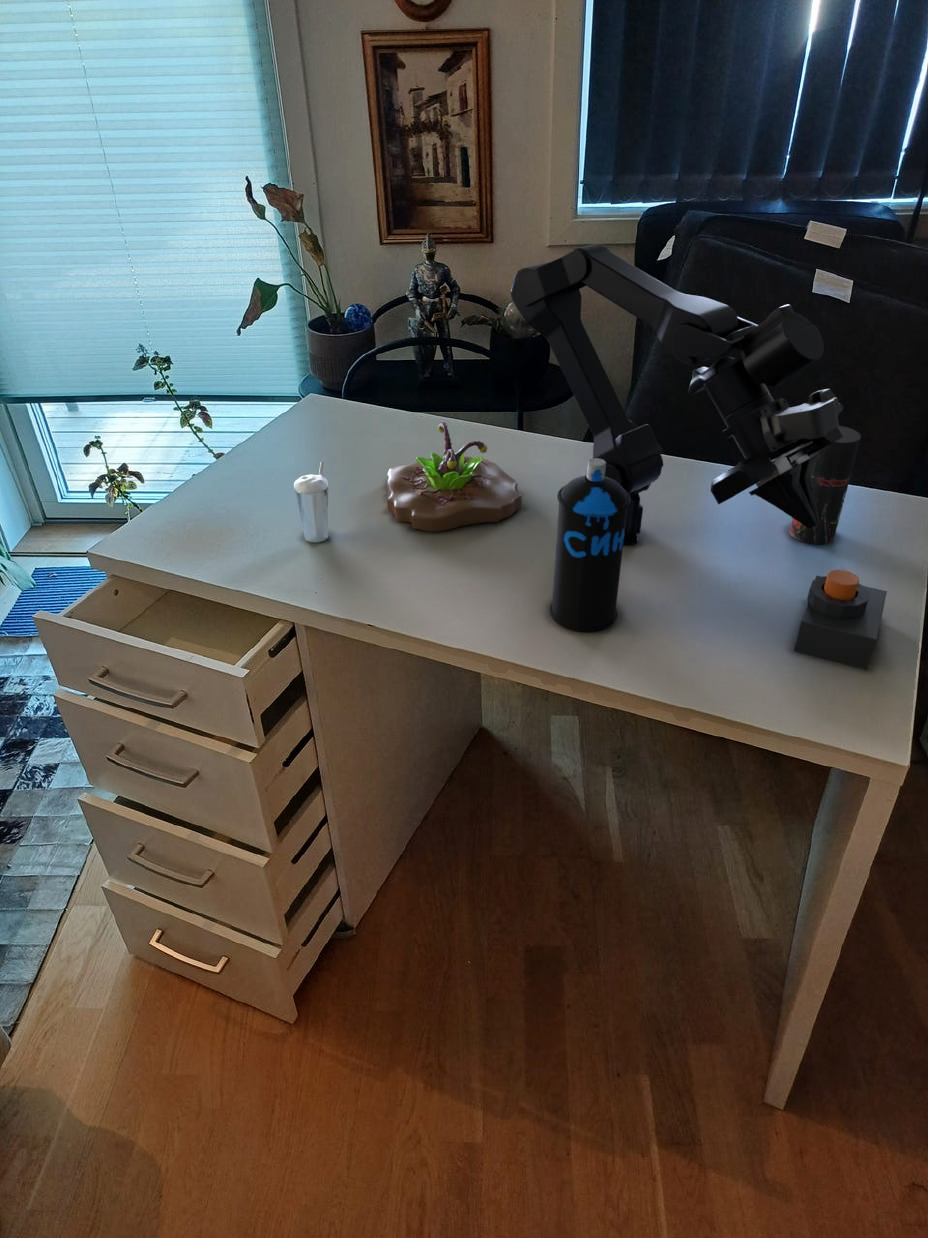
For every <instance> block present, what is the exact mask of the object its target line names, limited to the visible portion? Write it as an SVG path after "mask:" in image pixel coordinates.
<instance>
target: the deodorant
mask: <svg viewBox="0 0 928 1238" xmlns="http://www.w3.org/2000/svg"><path fill="white" fill-rule="evenodd" d="M839 430H840V432H841V434H842V435H843V437H842V438H840V439H838V440H837V441H835V442H833V443H831V444H830V445H828V446H826V447H824V448H822V449H821V450H819V451H817V452H815V453H814V454H812V455H810V456H808V457H809V458H812V457H814V456H816V455H818V454H820V458H819V459H818V460H817V461H816V463H815V466H814V469H813V472H812V485H813V491H814V497H815V502H816V508H817V513H818V518H819V524H818V525H816V526H814V527H812V528H810V529H809V528H807V527H805V526H804V525H802V524H801V523H799V522H798V521H797V520H795V519H794V518H792V519H791V522H790V523H791V524H790V527H789V534H790V536H791V537H792V538H793V539H795V540H796V541H798V542H801V543H803V544H807V545H812V546H824V545H829V544H830V543H832V542H833V541H834V540H835V536H836V534H837V529H838V526H839V521H840V517H841V514H842V510H843V506H844V502H845V499H846V495H847V491H848V487H849V484H850V480H851V476H852V472H853V469H854V466H855V462H856V457H857V454H858V450H859V447H860V443H861V438H862V436H861V434H860V432H858V431H857V430H855V429H853V428H851V427H847V426H842V425H839Z"/></svg>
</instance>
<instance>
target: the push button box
mask: <svg viewBox="0 0 928 1238" xmlns="http://www.w3.org/2000/svg"><path fill="white" fill-rule="evenodd" d="M826 579H827V575H822V576H821V575H815V579H812V581H811V583H810V586H809V590H808V593H807V597H806V601H807V602H806V606H805V609H804V612H803V615H802V618H801V620H800V625H799V628H798V632H797V635H796V640H795V644H794V648H793V652H797V653H799V654H804V655H808V656H812V657H816V658H820V659H823V660H827V661H831V662H835V663H839V664H843V665H847V666H850V667H854V668H858V669H862V670H867V671H868V670H869V666H870V664H871V660H872V656H873V654H874V650H875V648H876V645H877V641H878V637H879V631H880V627H881V622H882V618H883V613H884V607H885V602H886V599H887V598H886V597H887V592H888V591H887V590H884V589H879V588H876V587H875V588H874V587H870V586H866V585H863V584H861V583H859V584H858V587H857V590H856V594H855V597H854V598H853V599H852V600H840V599H835V598H832V597H830V596H828V595H826V594H825V593H824V586H825V582H826Z"/></svg>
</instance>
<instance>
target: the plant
mask: <svg viewBox="0 0 928 1238" xmlns="http://www.w3.org/2000/svg"><path fill="white" fill-rule="evenodd" d="M437 431H438V432H439V433H441V434H444V451H443V452H442V455H439V454H437V453H435V452H431V453H430V458H425V457H418V456H416V457H415V460H416V461H415V462H412V463H407V464H402V465H399V466H394V467H390V468H389V469H388V472H387V475H386V485H387V494H388V495H387V497H388V498H387V501H386V503H387V511H388V512H389V513H391V514H394V518H395V520H396V521H397V522H402V523H409V524H410V523H411V526H412V528H413V529H414V530H418V531H422V532H423V531H424V532H433V533H434V532H435V533H439V532H443V531H448V530H452V529H456V528H459V527H464V526H469V525H476V524H485V523H497V522H500V521H501V520H503V519H507V518H509V517H511V516H512V515H513V514H514V513H515V512H518V511H520V510H521V509H522V494H520V493H519V492H518V482H517V480H516V479H515V478H513V477H512V476H511V475H509V474H508V473H507V472H506V470H504V469H503V468H502V467H501V466H499V465H498V464H497V463H495V462H493V461H491V460H490V459H486V458H484V457H483V456H477V457H472V456H466V455H465V452H466V451H467V450H468V449H469V448H471V447H474V446H476V447H477V449H478V451H479V452H480V453H481V454H486V453H488V452H487V451H488V446H487V444H486V443H485V442H482V441H480V440H478V441H476V440H474V441H471V442H468V443H466V444H464V445H463V446H462V447H461V448H460V449H459V451H457V452H456V451H455V450H454V449H453V447H452V439H451V435H450V433H449V428H448V424H447V422H445V421H442V422H440V423H439V424H438V426H437Z"/></svg>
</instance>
